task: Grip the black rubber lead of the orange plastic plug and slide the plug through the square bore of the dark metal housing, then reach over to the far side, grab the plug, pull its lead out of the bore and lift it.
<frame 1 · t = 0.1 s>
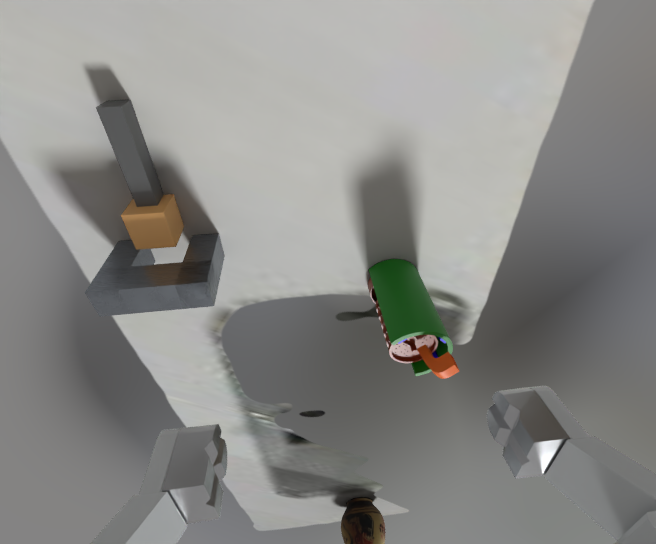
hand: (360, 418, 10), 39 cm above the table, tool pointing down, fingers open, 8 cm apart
ceramic jug: (360, 501, 127), on the table
motor: (392, 279, 59), on the table
plug: (160, 212, 47), on the table
bore housing: (173, 248, 50), on the table
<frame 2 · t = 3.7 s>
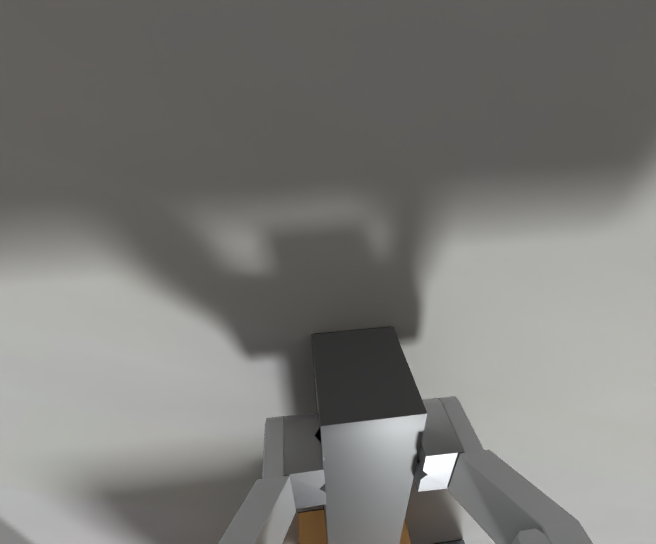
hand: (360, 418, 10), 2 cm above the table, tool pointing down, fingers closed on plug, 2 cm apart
plug: (349, 527, 18), on the table, touching gripper
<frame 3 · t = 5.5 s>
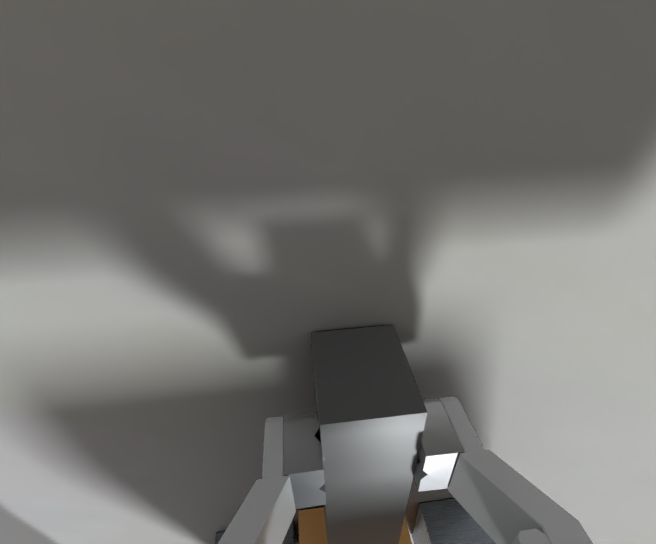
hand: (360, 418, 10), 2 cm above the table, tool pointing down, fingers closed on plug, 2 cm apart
plug: (349, 525, 18), on the table, touching gripper
bore housing: (356, 528, 18), on the table
when the fingers open (2 cm above the table, at t = 7.2 s): plug stays where it is, on the table.
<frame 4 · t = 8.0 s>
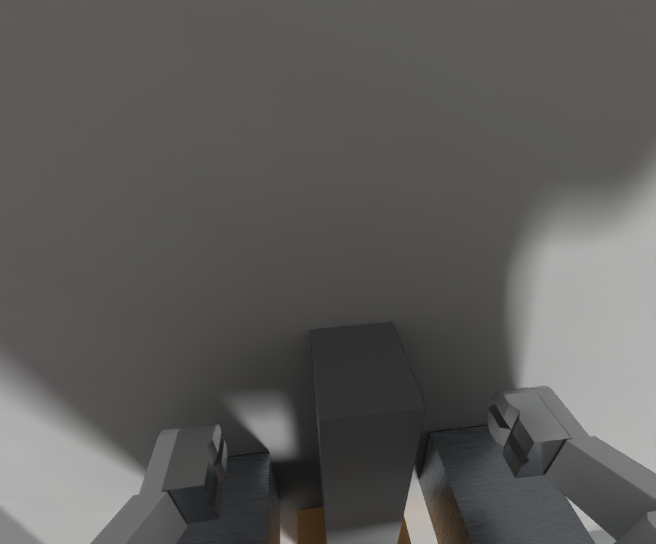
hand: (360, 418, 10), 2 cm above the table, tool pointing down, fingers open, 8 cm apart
plug: (348, 525, 18), on the table
bore housing: (351, 468, 15), on the table
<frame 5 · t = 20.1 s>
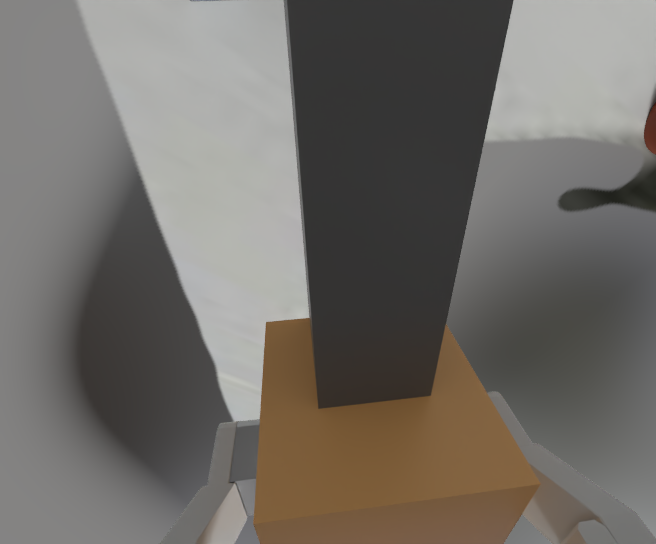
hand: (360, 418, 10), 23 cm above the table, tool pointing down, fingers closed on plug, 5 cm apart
plug: (351, 371, 11), point 21 cm above the table, touching gripper
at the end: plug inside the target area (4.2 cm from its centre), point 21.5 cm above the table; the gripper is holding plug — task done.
